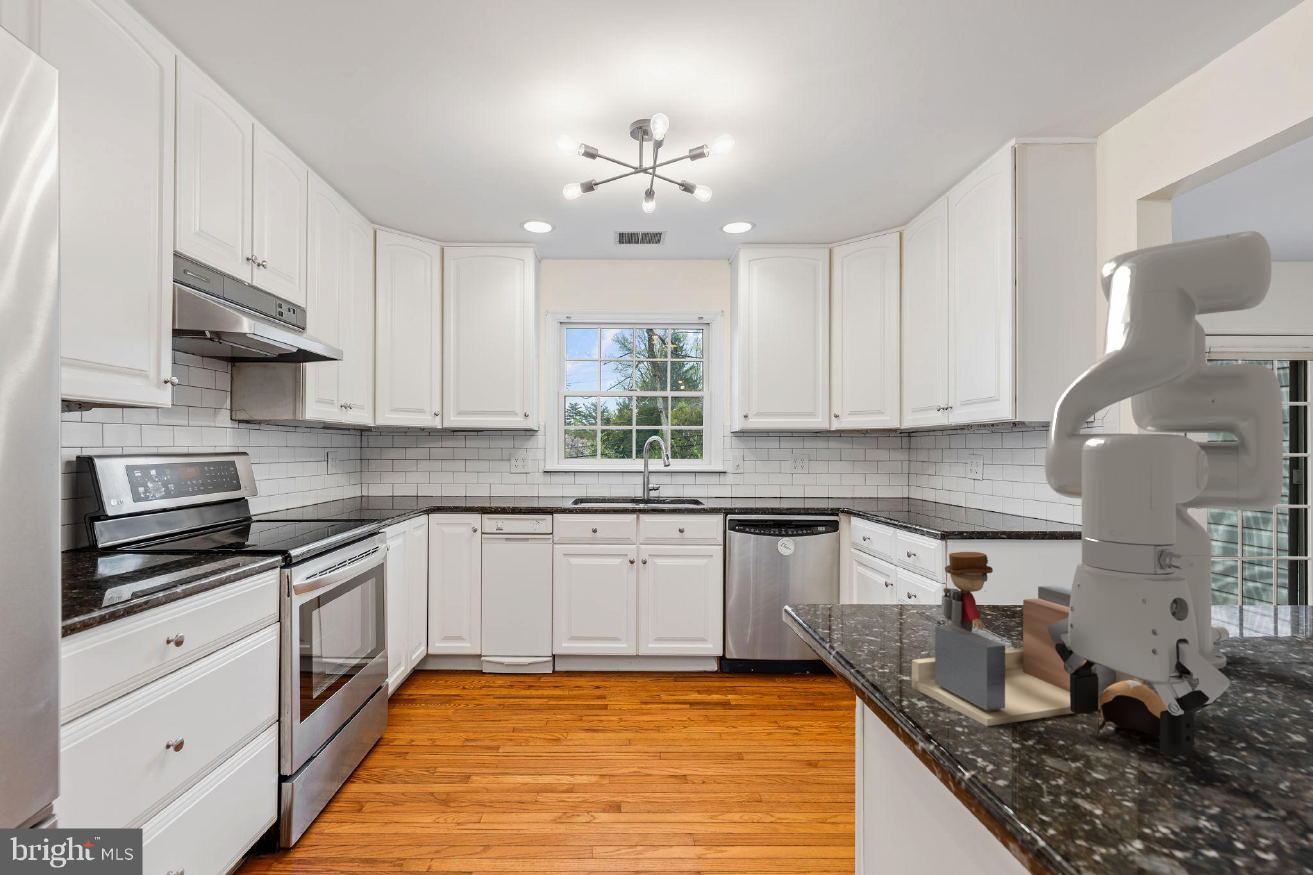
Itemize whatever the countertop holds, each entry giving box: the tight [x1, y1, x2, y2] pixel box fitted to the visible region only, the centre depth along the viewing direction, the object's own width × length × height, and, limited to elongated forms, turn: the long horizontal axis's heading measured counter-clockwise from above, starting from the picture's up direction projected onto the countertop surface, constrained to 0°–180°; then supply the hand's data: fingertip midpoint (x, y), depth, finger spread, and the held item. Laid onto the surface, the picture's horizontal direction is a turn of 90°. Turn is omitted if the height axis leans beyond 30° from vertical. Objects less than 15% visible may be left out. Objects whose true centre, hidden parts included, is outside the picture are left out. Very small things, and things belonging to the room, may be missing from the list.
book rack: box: [911, 584, 1144, 727], centre depth 75 cm, size 23×12×12 cm, turn 106°
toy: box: [940, 551, 994, 633], centre depth 90 cm, size 11×7×15 cm, turn 168°
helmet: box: [1096, 680, 1167, 756], centre depth 63 cm, size 6×7×8 cm
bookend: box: [934, 624, 1006, 711], centre depth 72 cm, size 2×8×7 cm, turn 16°
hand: (1126, 730), depth 61 cm, fingers open, 8 cm apart
